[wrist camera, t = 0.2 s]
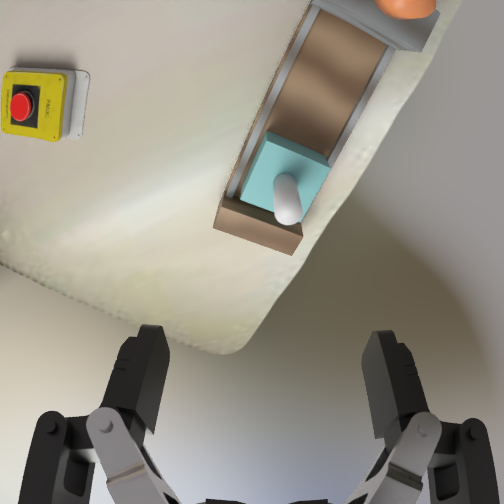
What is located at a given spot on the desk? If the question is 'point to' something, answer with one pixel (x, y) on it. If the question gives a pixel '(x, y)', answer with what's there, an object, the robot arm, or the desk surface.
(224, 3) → the desk surface
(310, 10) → the rail
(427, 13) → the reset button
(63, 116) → the emergency button
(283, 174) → the carriage
